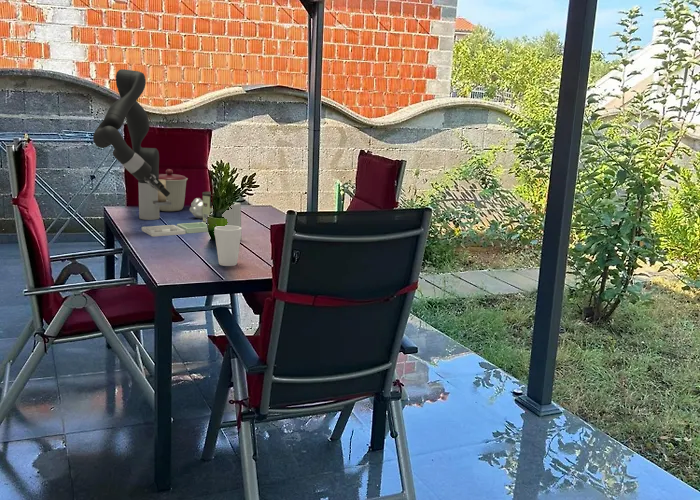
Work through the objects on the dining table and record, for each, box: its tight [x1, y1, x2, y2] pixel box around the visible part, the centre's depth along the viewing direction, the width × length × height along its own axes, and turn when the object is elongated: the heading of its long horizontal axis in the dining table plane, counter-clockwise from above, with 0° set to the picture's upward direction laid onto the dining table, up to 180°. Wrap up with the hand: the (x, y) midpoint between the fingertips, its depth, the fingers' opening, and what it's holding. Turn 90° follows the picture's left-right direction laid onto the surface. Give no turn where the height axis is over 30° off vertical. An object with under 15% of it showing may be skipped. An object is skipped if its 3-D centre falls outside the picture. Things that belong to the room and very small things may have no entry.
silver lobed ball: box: [189, 197, 203, 220], centre depth 318 cm, size 9×10×10 cm
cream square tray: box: [141, 224, 187, 237], centre depth 278 cm, size 14×14×2 cm
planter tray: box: [176, 221, 209, 234], centre depth 286 cm, size 12×12×3 cm
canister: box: [159, 168, 189, 212], centre depth 336 cm, size 18×18×21 cm
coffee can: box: [202, 190, 213, 223], centre depth 309 cm, size 10×10×14 cm
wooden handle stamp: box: [153, 180, 172, 206], centre depth 275 cm, size 6×6×10 cm
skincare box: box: [222, 202, 243, 241], centre depth 271 cm, size 8×7×16 cm
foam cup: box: [213, 225, 243, 267], centre depth 232 cm, size 10×9×13 cm
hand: (166, 194), depth 277 cm, fingers closed on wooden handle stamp, 3 cm apart
